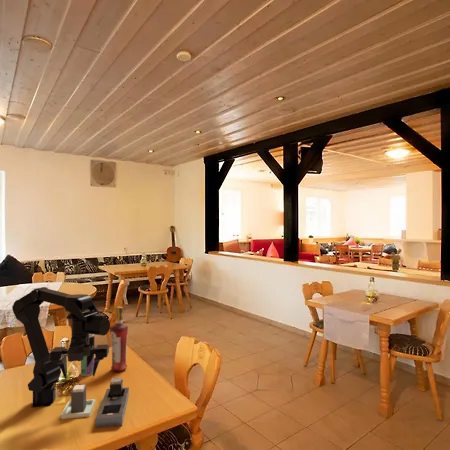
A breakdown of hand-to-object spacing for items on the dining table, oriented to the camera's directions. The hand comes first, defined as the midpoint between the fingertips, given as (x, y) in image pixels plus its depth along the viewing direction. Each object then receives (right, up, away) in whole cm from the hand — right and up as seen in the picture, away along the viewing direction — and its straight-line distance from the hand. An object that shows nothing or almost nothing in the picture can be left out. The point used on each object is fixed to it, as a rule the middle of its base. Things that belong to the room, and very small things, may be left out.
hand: (79, 376), depth 119 cm
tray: (0, -12, 0) cm, 12 cm away
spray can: (-10, -12, +30) cm, 34 cm away
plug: (0, -11, 0) cm, 11 cm away
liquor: (+3, -12, +35) cm, 37 cm away
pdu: (+12, -12, 0) cm, 17 cm away
